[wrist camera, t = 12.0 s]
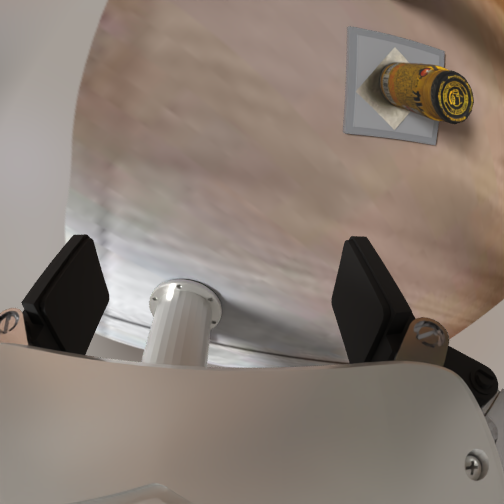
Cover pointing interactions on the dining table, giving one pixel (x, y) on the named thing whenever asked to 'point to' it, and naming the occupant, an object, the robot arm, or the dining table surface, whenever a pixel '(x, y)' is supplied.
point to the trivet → (363, 64)
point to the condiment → (416, 91)
